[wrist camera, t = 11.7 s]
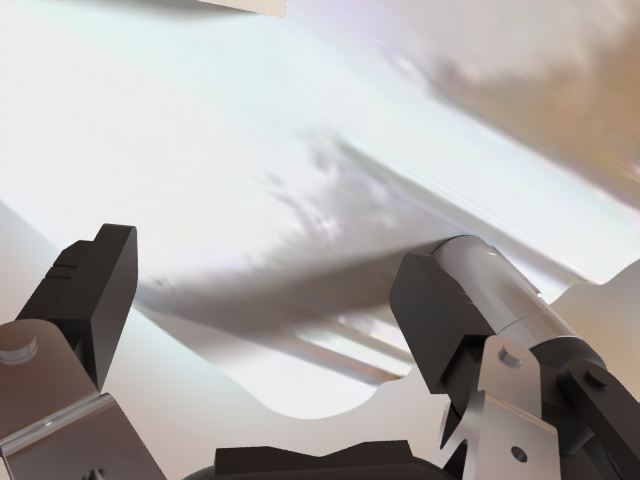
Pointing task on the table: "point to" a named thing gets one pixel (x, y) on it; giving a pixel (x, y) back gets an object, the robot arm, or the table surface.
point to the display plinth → (255, 6)
